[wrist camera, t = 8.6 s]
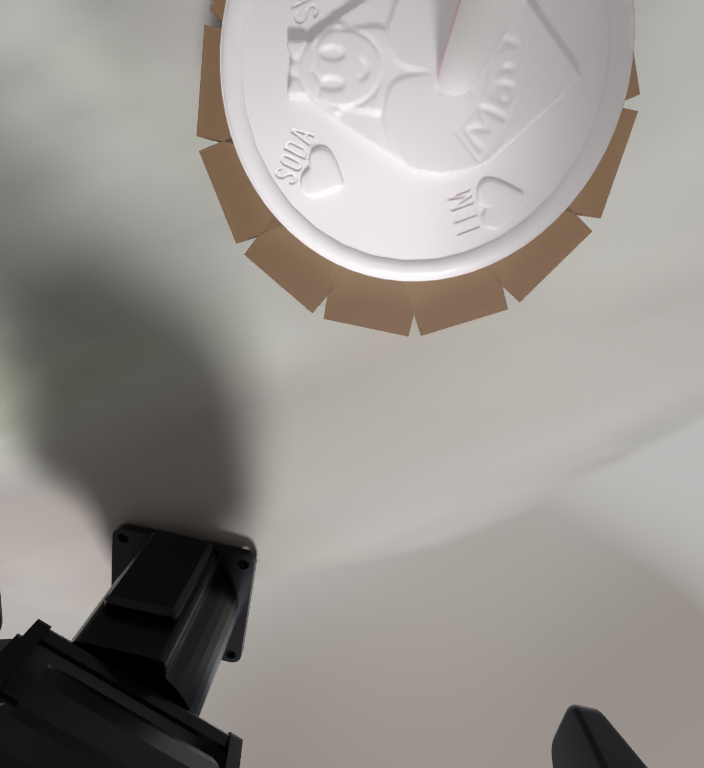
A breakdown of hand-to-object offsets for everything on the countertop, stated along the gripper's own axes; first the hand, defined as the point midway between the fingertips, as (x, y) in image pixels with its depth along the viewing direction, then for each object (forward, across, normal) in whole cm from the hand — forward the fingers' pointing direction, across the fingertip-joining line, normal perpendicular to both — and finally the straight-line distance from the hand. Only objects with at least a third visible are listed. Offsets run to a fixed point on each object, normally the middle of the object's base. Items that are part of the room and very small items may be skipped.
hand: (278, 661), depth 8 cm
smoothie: (+13, 0, -9) cm, 16 cm away
